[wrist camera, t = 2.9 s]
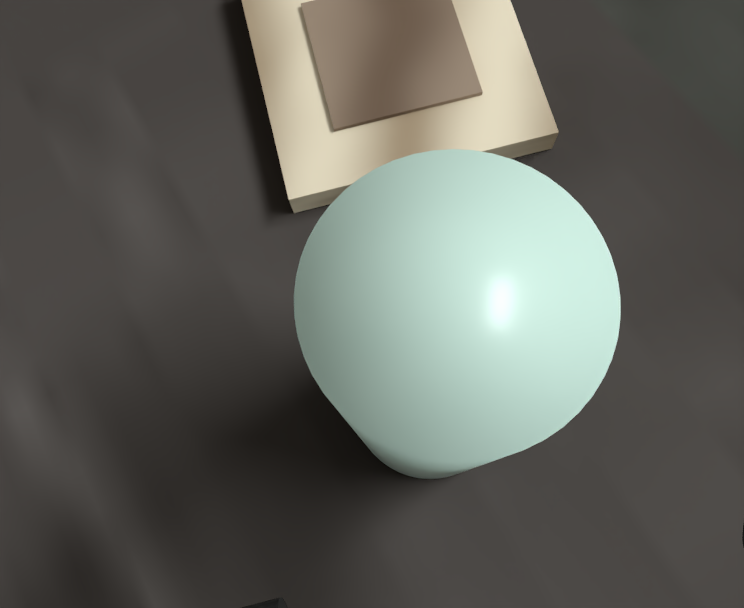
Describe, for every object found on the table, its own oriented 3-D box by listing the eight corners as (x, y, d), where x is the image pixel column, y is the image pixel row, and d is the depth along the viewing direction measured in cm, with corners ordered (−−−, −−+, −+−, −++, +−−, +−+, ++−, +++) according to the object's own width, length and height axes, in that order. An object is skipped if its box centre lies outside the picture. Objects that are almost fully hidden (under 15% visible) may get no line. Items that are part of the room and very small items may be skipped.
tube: (373, 496, 23) (334, 501, 10) (337, 347, 24) (264, 191, 12) (524, 457, 23) (669, 413, 10) (480, 311, 24) (560, 117, 12)
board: (294, 213, 26) (287, 197, 24) (242, -4, 28) (234, -29, 27) (551, 148, 26) (559, 129, 24) (476, -61, 28) (479, -89, 27)
